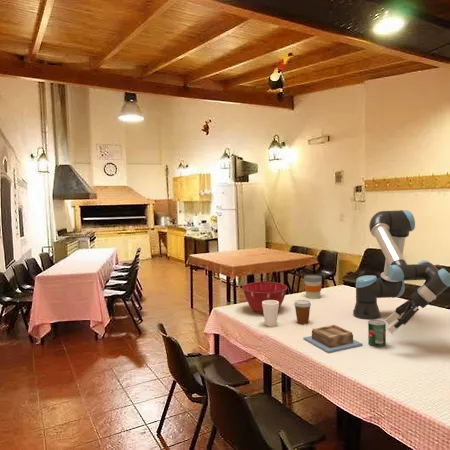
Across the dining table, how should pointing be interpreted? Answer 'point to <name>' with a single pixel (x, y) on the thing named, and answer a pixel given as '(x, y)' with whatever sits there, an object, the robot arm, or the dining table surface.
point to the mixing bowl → (263, 293)
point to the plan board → (332, 349)
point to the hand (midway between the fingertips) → (388, 326)
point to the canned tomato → (377, 333)
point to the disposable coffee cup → (302, 311)
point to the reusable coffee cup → (312, 286)
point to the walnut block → (332, 336)
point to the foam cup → (270, 312)
